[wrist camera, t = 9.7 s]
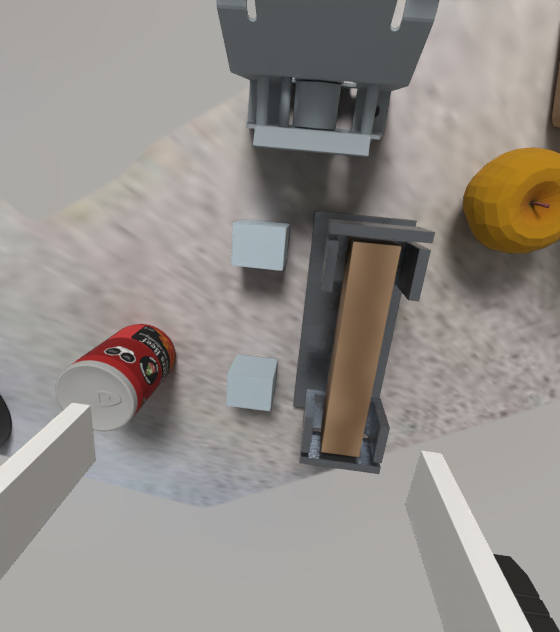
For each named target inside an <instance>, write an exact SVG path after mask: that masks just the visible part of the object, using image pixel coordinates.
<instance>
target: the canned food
mask: <svg viewBox="0 0 560 632" xmlns="http://www.w3.org/2000/svg"><path fill="white" fill-rule="evenodd" d="M174 360H175V349H174V346H173V344H172V342H171V340H170V339H169V337H168V336H167V335H166V334H165V333H164V332H162V331H161V330H160V329H158V328H156V327H154V326H150V325H145V324H136V325H131V326H127V327H125V328H123V329H121V330H120V331H119V332H117V333H116V334H114V335H113V336H111V337H110V338H108V339H107V340H106V341H104V342H103V343H101V344H100V345H98V346H97V347H95V348H94V349H93V350H91V351H90V352H88V353H87V354H85V355H84V356H82V357H81V358H80V359H78V360H77V361H76V362H74V363H73V364H71V365H70V366H69V367H68V368H66V369H65V370H64V371H63V372H62V373H61V374H60V376H59V377H58V379H57V382H56V388H55V392H56V398H57V400H58V403H59V405H60V407H61V408H62V410H64V409H66V408H67V407H68V406H69V405H70V404H71V403H78V404H85V405H91V414H92V425H93V430H96V431H112V430H116V429H118V428H121V427H122V426H124V425H125V424H127V422H128V421H130V420H131V418H132V417H133V416H134V415H135V414H136V413H137V412H138V410H139V409H140V408H141V407H142V405H143V404H144V403H145V402H146V400H147V399H148V398H149V397H150V395H151V394H152V393H153V392H154V391H155V389H156V388H157V387H158V386H159V384H160V383H161V382H162V381H163V379H164V378H165V377H166V376H167V374H168V373H169V372H170V371H171V369H172V367H173V365H174Z"/></svg>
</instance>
